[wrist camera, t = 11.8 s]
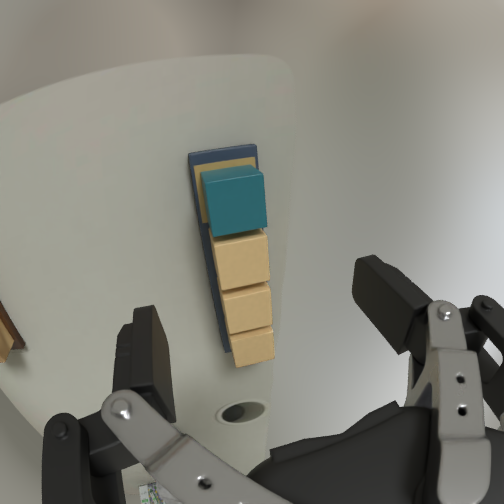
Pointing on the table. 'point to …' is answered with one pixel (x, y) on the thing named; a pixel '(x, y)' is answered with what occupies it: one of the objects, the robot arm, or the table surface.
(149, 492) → the ink box
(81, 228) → the table surface
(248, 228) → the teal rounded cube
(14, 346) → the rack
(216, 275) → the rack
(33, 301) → the table surface
